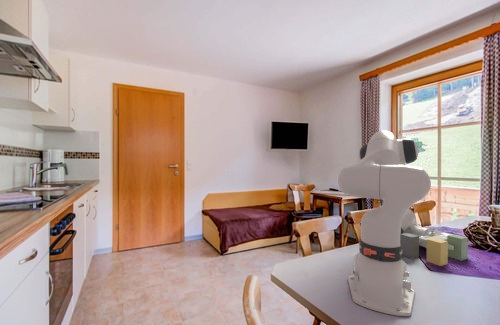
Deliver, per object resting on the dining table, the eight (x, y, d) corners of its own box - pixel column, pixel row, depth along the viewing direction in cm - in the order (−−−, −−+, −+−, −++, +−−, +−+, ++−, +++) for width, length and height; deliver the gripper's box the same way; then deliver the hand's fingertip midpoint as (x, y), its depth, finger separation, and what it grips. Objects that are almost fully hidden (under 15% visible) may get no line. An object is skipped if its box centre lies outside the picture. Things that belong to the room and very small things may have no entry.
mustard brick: (447, 264, 95) (447, 241, 95) (440, 266, 93) (440, 242, 93) (433, 259, 100) (433, 237, 100) (426, 261, 98) (426, 239, 98)
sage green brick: (467, 258, 101) (467, 237, 101) (461, 260, 99) (461, 238, 99) (453, 254, 105) (453, 234, 105) (447, 256, 103) (447, 235, 103)
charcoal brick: (418, 257, 102) (419, 236, 102) (411, 259, 100) (412, 237, 100) (406, 253, 107) (407, 232, 107) (399, 254, 104) (400, 234, 104)
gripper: (410, 233, 109) (446, 242, 97) (436, 228, 118) (471, 236, 106) (410, 246, 109) (446, 257, 97) (436, 241, 118) (471, 250, 106)
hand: (459, 246), depth 101 cm, fingers open, 8 cm apart
